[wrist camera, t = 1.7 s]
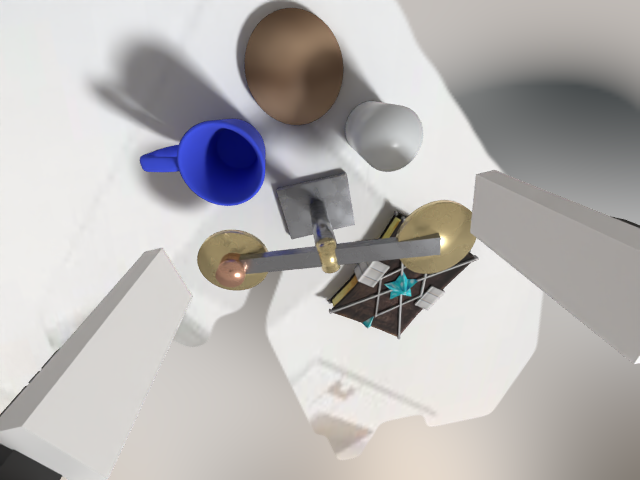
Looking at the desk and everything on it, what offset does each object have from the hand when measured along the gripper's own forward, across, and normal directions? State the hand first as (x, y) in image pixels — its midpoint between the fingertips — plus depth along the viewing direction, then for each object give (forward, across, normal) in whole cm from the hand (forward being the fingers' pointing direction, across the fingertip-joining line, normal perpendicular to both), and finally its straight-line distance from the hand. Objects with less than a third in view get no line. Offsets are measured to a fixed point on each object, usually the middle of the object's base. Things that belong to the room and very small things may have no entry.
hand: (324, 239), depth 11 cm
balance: (+27, 0, -10) cm, 29 cm away
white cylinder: (+27, +9, -1) cm, 28 cm away
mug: (+27, -10, +1) cm, 29 cm away
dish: (+27, +1, +7) cm, 28 cm away
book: (+27, +11, -27) cm, 40 cm away
